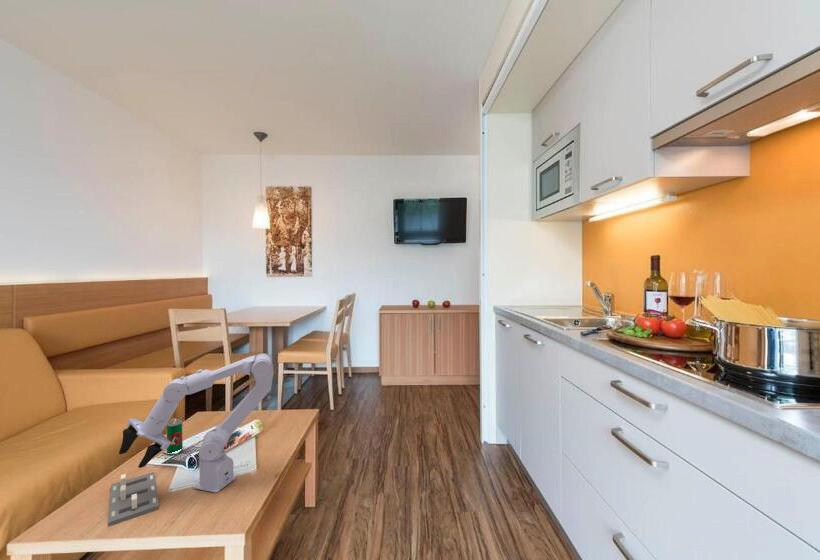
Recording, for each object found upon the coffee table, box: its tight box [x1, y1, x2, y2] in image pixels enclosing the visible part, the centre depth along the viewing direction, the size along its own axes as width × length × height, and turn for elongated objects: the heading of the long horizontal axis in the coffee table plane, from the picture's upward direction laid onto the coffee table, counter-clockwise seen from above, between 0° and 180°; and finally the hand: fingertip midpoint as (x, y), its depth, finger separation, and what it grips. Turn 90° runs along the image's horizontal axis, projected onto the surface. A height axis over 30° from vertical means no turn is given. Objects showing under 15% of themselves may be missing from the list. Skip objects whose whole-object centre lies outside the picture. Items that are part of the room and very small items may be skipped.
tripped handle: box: [131, 493, 137, 509], centre depth 99 cm, size 1×3×3 cm, turn 39°
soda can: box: [165, 418, 184, 454], centre depth 132 cm, size 5×5×12 cm
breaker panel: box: [107, 471, 160, 527], centre depth 105 cm, size 11×22×4 cm, turn 39°
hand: (131, 459), depth 104 cm, fingers open, 7 cm apart
